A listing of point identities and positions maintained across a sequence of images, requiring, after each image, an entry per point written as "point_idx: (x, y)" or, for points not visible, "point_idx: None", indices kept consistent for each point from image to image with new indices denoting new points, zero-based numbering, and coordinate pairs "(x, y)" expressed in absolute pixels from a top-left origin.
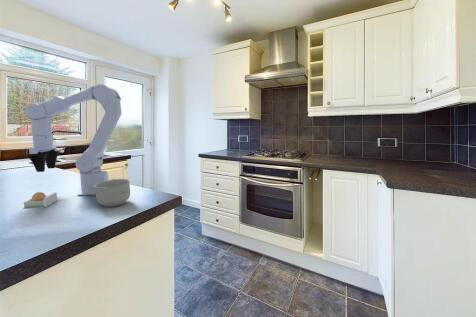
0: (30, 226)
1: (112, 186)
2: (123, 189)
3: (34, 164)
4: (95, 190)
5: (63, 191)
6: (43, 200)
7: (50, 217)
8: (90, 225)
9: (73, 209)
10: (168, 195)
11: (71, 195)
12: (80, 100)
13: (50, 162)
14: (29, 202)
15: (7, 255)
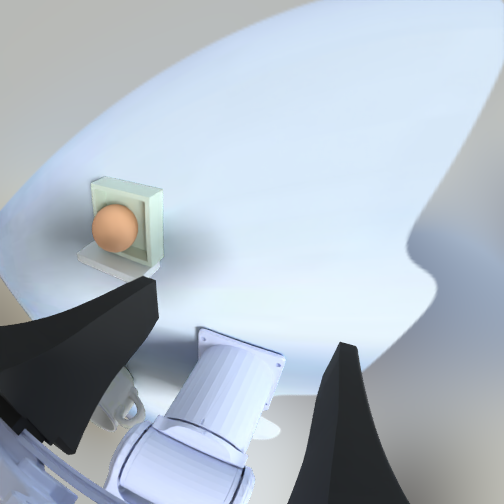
0: (20, 236)
1: (119, 404)
2: None
3: (80, 312)
4: None
5: (325, 283)
6: (82, 249)
7: (46, 261)
8: (34, 311)
9: (82, 301)
10: None
11: (220, 310)
12: None
13: (321, 417)
14: (94, 200)
15: None
